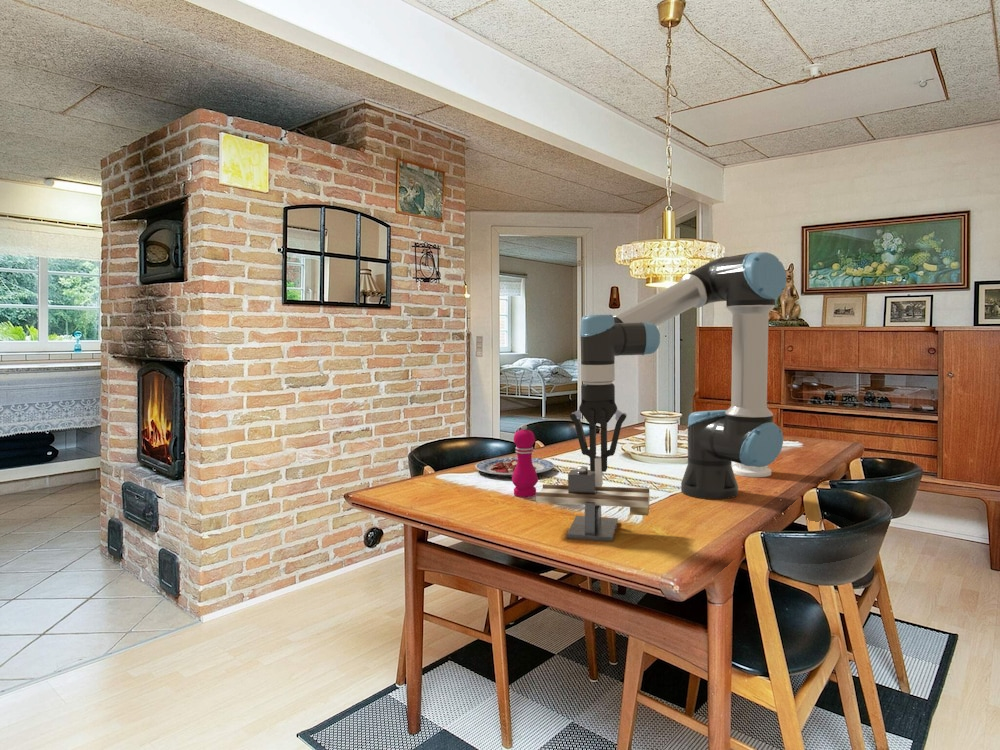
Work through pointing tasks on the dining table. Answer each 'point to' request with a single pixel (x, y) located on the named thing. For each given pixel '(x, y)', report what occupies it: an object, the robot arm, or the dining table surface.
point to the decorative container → (751, 470)
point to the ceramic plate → (510, 466)
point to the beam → (598, 497)
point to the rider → (581, 481)
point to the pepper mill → (524, 464)
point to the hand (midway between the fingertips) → (598, 485)
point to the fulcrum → (593, 525)
